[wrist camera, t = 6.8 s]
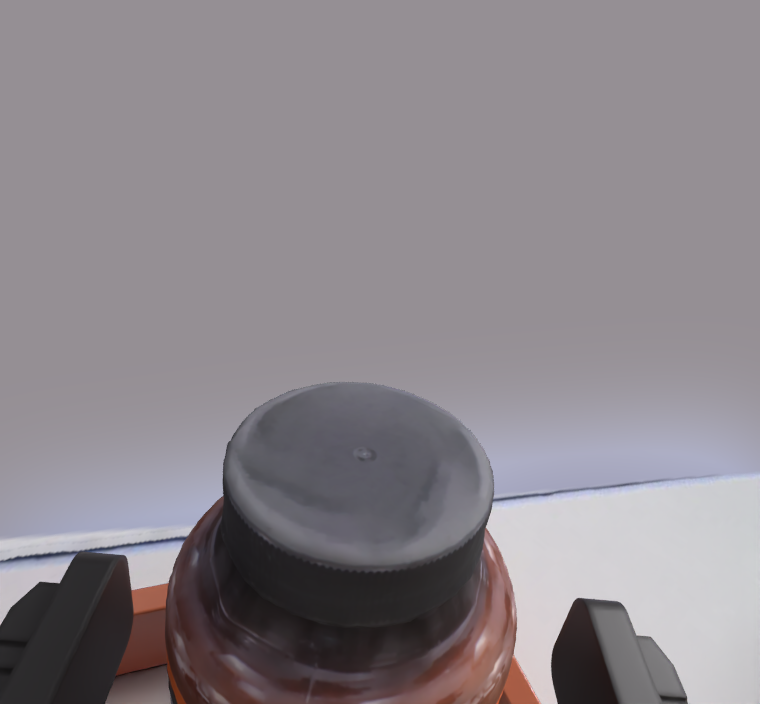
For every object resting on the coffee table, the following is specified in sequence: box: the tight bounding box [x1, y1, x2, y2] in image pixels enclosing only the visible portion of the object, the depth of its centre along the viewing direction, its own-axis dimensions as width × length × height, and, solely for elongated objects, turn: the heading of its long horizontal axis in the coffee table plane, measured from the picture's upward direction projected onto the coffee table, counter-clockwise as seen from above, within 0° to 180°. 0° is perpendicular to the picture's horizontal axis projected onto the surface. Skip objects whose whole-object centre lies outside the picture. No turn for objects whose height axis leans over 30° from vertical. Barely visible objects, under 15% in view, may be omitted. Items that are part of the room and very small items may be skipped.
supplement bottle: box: [165, 382, 517, 704], centre depth 12 cm, size 6×6×11 cm
